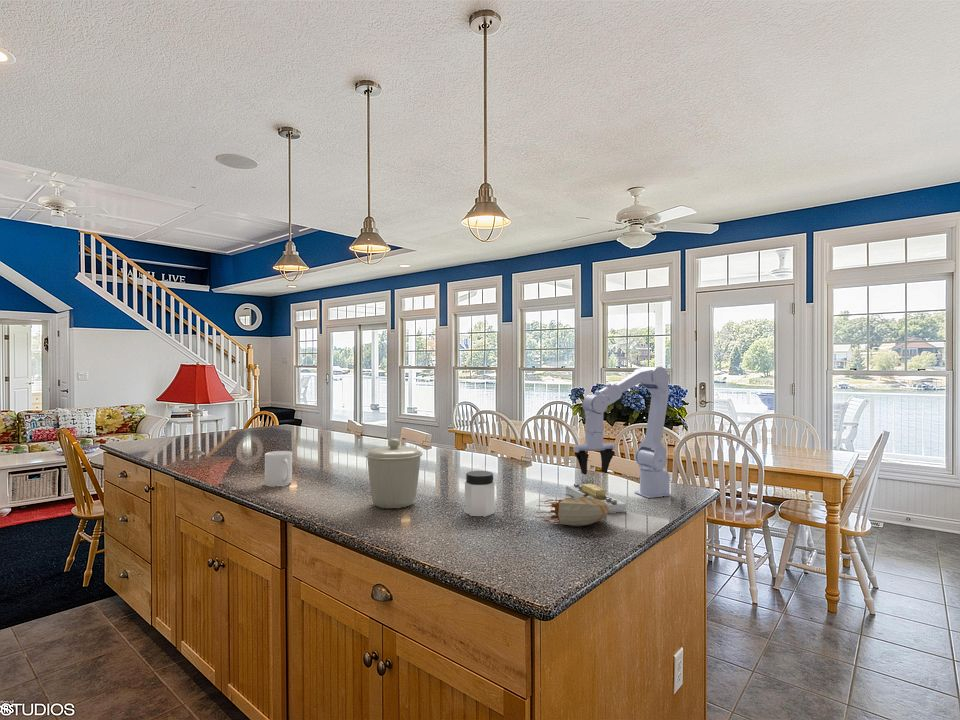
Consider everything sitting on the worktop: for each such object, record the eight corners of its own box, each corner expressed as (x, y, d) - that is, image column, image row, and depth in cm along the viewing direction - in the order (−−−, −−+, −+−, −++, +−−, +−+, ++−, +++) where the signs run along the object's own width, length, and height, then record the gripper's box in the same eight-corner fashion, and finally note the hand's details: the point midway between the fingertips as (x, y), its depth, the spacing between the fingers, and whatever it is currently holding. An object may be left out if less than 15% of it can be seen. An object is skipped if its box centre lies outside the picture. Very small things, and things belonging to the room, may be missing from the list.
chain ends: (582, 491, 185) (582, 482, 185) (626, 511, 161) (626, 501, 161) (565, 493, 183) (565, 483, 183) (607, 513, 158) (607, 502, 158)
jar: (498, 515, 157) (498, 475, 157) (473, 518, 153) (473, 477, 153) (485, 507, 165) (485, 469, 165) (461, 510, 161) (461, 471, 161)
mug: (279, 480, 201) (280, 450, 201) (302, 484, 195) (302, 452, 196) (258, 485, 193) (259, 453, 193) (281, 489, 187) (281, 456, 187)
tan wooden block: (591, 498, 177) (591, 483, 177) (605, 505, 168) (605, 489, 168) (582, 499, 176) (582, 484, 176) (595, 506, 167) (595, 490, 167)
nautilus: (528, 529, 146) (540, 516, 160) (607, 532, 139) (612, 519, 153) (527, 500, 146) (538, 490, 160) (606, 502, 139) (611, 491, 154)
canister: (353, 505, 167) (353, 438, 167) (398, 494, 180) (398, 433, 180) (388, 516, 155) (388, 445, 155) (434, 504, 168) (434, 438, 168)
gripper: (606, 429, 178) (606, 469, 178) (568, 430, 174) (568, 472, 174) (618, 431, 172) (618, 473, 172) (579, 433, 167) (579, 476, 167)
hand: (594, 473), depth 172 cm, fingers open, 7 cm apart
